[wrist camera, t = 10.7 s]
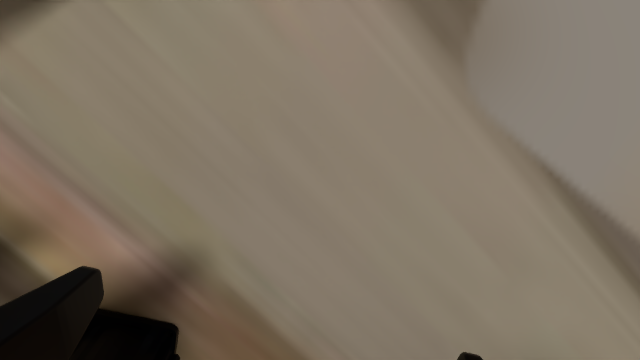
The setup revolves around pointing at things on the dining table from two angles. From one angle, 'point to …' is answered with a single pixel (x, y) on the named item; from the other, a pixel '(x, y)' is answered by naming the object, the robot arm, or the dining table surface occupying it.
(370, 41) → the dining table surface
